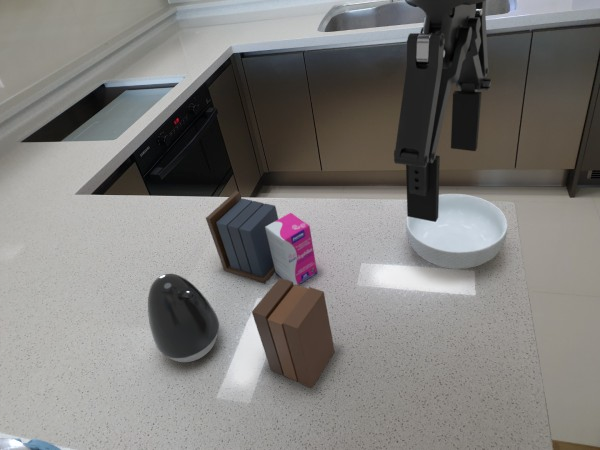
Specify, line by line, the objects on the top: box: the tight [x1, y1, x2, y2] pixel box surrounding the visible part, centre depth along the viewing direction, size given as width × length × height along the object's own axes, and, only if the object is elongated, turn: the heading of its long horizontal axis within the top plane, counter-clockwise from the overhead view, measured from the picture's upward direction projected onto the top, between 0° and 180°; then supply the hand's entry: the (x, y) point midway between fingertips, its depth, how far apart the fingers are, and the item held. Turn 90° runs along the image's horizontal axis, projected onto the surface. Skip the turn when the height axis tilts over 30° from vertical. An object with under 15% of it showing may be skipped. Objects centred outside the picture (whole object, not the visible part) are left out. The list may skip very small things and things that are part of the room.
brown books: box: [251, 277, 336, 389], centre depth 66 cm, size 7×7×13 cm
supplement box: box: [265, 212, 318, 286], centre depth 82 cm, size 6×6×12 cm
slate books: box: [205, 190, 279, 284], centre depth 86 cm, size 9×10×13 cm
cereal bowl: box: [405, 193, 509, 270], centre depth 81 cm, size 17×17×7 cm
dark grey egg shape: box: [147, 273, 220, 363], centre depth 71 cm, size 10×10×15 cm
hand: (445, 179), depth 47 cm, fingers open, 13 cm apart
